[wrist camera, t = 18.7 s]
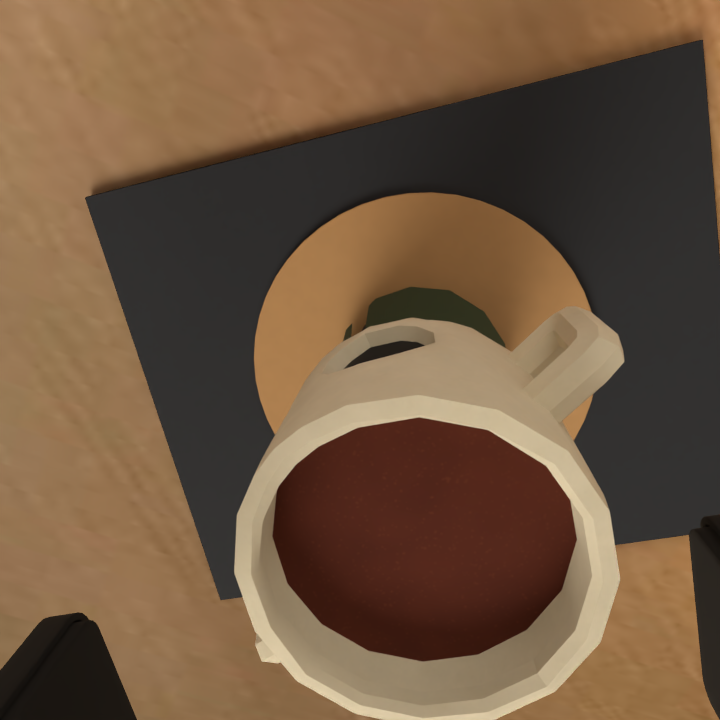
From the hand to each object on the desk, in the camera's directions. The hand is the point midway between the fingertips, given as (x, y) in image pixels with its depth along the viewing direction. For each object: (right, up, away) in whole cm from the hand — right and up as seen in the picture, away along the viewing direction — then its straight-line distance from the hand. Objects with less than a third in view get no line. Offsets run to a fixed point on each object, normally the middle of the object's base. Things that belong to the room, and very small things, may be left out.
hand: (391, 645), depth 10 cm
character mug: (+2, +4, +14) cm, 15 cm away
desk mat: (+2, +4, +15) cm, 16 cm away
